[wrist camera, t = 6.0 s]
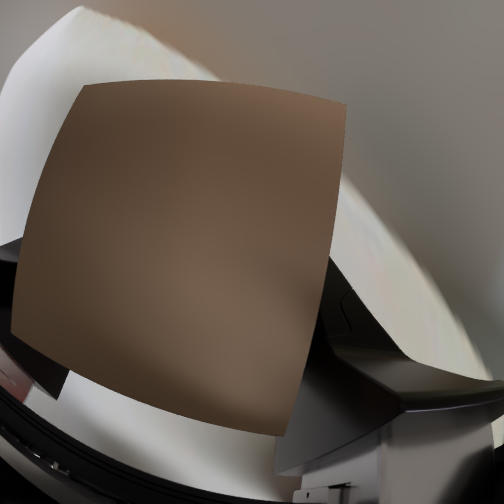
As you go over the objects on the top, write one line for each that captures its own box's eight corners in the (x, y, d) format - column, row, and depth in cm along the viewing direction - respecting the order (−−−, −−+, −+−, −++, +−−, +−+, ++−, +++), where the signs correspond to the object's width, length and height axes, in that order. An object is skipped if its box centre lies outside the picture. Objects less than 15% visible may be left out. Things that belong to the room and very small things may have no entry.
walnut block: (264, 327, 15) (284, 437, 3) (173, 305, 16) (11, 332, 4) (284, 233, 16) (346, 104, 4) (194, 215, 16) (83, 85, 4)
